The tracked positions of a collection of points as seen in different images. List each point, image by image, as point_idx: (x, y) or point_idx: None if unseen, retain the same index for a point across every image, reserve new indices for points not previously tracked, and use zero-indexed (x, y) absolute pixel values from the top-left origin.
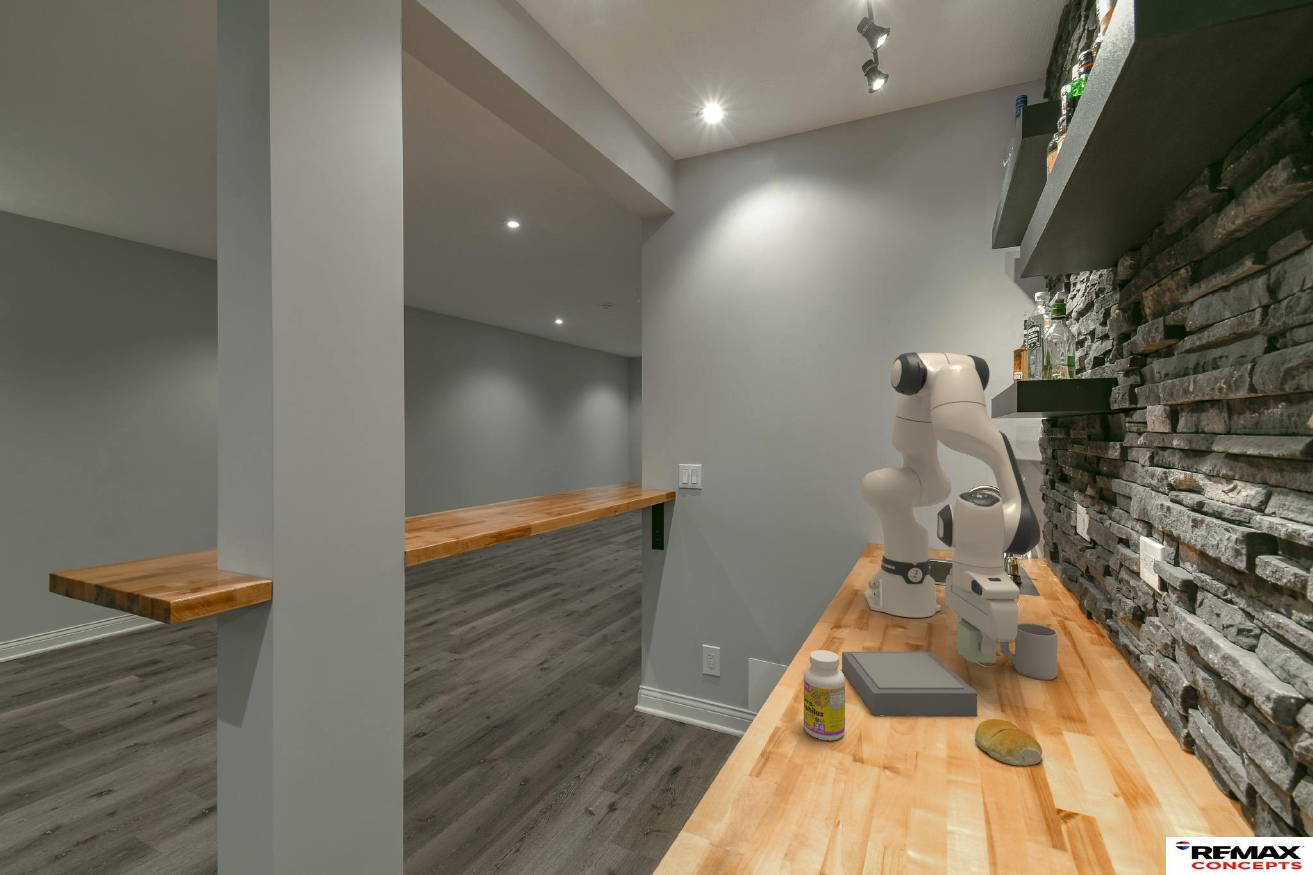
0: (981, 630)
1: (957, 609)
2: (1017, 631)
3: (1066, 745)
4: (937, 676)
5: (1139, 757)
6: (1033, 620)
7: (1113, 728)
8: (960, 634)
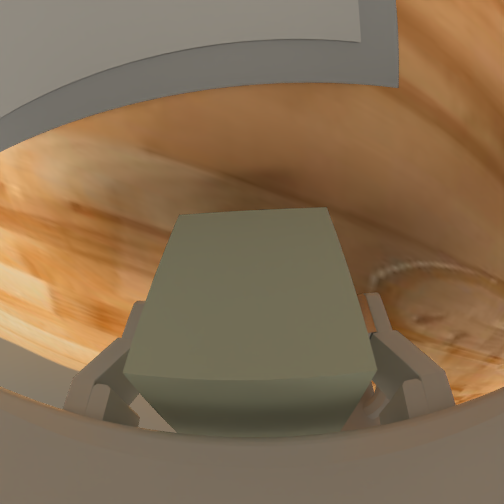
0: (42, 413)
1: (442, 457)
2: (345, 427)
3: (4, 262)
4: (42, 30)
5: (30, 327)
6: (478, 380)
7: (96, 348)
8: (293, 299)
